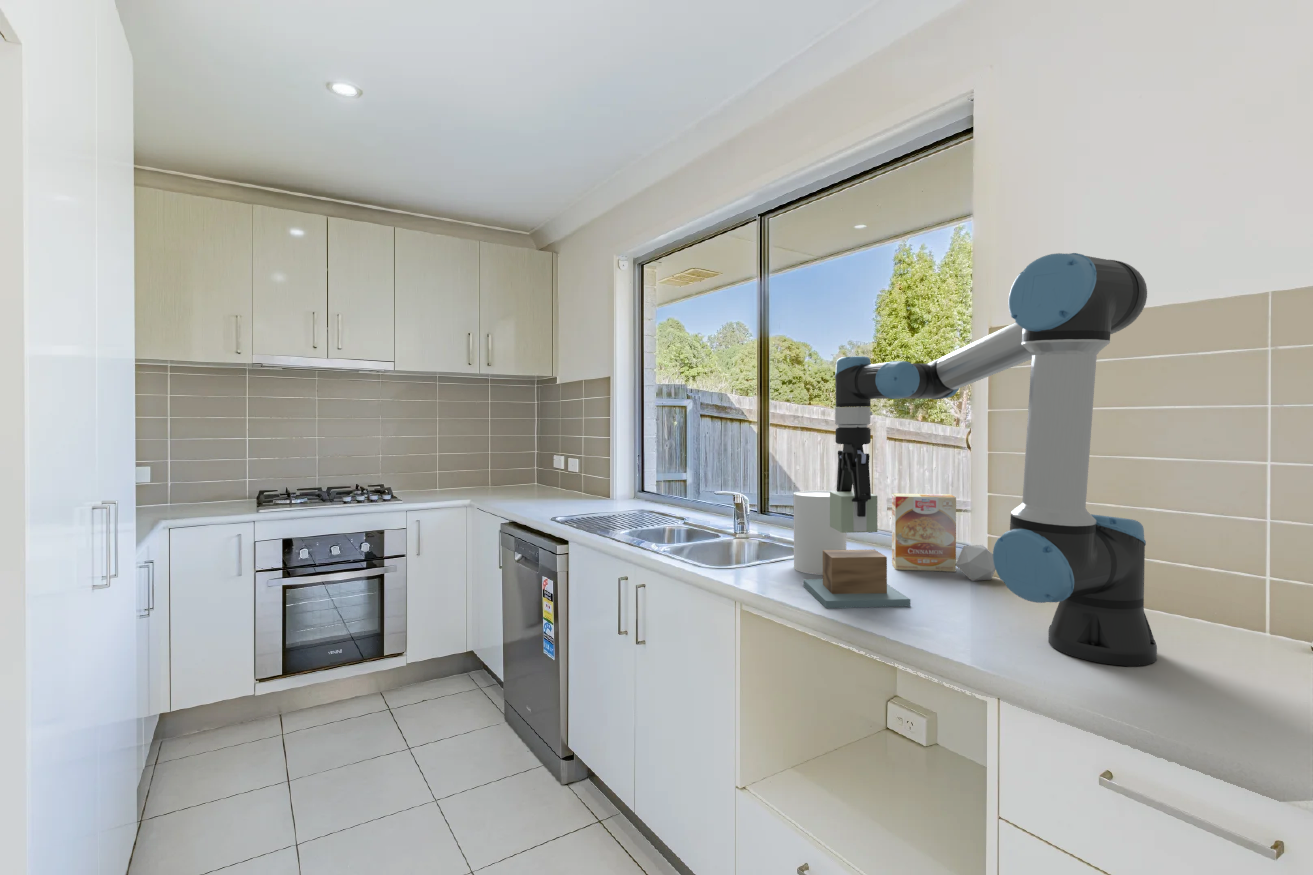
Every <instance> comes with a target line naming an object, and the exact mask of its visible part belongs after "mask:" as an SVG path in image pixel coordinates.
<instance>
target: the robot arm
mask: <svg viewBox="0 0 1313 875" xmlns="http://www.w3.org/2000/svg"><path fill="white" fill-rule="evenodd" d="M1007 299H1008V302H1007V303H1008V305H1007V306H1008V312H1009V315H1010V317H1011V318H1012V319H1013V320H1014V321H1015V322H1013V323H1011V324H1009V325H1007V326H1005V327H1003V328H1000V329H998V330H996V331H994V332H992V333H990V334H988V335H985V336H983V337H981V338H979V339H976V340H975V341H973V342H970V343H968V344H966V345H964V346H962V347H960V348H958V349H956V350H954V351H952V352H949V353H947V354H945V355H943V356H941V357H939V358H937V359H935V360H932V361H930V362H927V363H915V362H914V363H913V362H912V363H911V362H910V361H905V360H903V361H902V360H901V361H900V360H898V361H897V360H893V361H892V360H891V361H889V362H880V363H873V364H871V363H872V362H871V358H870V357H868V356H866V355H865V356H859V355H858V356H857V355H856V356H853V355H852V356H843V357H840V358H838V359H837V360H836V362H835V374H834V380H835V382H834V383H835V385H834V386H835V387H834V388H835V392H834V393H835V407H834V415H835V416H834V422H835V423H834V424H835V425H836V426H837V427H835V443H836V444H837V445H842V449H841V450H838V451H837V460H838V461H837V473H836V474H837V477H836V492H851V491H852V490H853V491H854V496H855V498H853V499H852V502H853V531H867V501H868V500H870V499H871V494H872V492H871V491H872V490H871V489H872V488H871V473H870V453H865V452H864V446H863V445H869V444H871V441H872V440H871V438H872V437H871V436H872V435H871V431H872V430H871V428H870V427H868V426H869V425H870V424H871V416H872V415H873V412H872V411H871V405H872V404H871V403H872V402H871V400H875V399H876V400H880V399H885V400H886V399H888V400H891V399H892V400H895V399H896V400H898V399H902V400H903V399H906V400H907V399H916V400H917V399H923V400H924V399H925V400H941V399H949V398H951V397H954V396H955V395H956V394H957V392H958V391H959V390H960V388H963V387H966V386H968V385H971V384H973V383H976V382H979V381H981V380H984V379H985V378H988V377H991V376H993V375H995V374H998V373H1001V372H1003V371H1005V370H1009V369H1011V368H1013V367H1017V366H1018V365H1021V364H1023V363H1025V362H1028V361H1030V360H1031V362H1030V363H1031V364H1030V376H1029V377H1030V378H1029V392H1028V393H1029V395H1028V407H1027V409H1028V410H1027V420H1026V421H1027V425H1026V426H1027V427H1026V440H1025V457H1024V469H1023V470H1024V472H1023V484H1022V485H1023V487H1022V501H1021V503H1020V504H1019V505H1018V506H1016V507H1015V508H1013V509H1012V510H1011V511H1010V522H1009V530H1006V531H1005V532H1004V533H1003V534H1002V535H1001V536H1000V537H999V538H997V539H996V541H995V543H994V546H993V549H992V554H993V562H994V566H995V569H996V570H995V572H996V574H997V575H998V577H999V579H1000V580H1001V581H1003V583H1004V584H1005V586H1006V588H1007V589H1008V590H1009V591H1010V592H1012V593H1013V594H1014V595H1016V596H1017V597H1019V598H1021V599H1023V600H1024V601H1029V602H1032V603H1038V604H1041V603H1042V604H1043V603H1044V604H1045V603H1058V606H1057V608H1056V610H1055V612H1054V615H1053V618H1052V621H1051V624H1050V625H1049V627H1048V636H1047V637H1048V644H1049V645H1050V646H1051V647H1052V648H1054V649H1056V650H1057V651H1058V652H1061V653H1062V654H1063V653H1064V654H1065V655H1069V656H1072V657H1074V658H1077V659H1081V660H1084V661H1085V660H1086V661H1090V662H1093V663H1100V664H1104V665H1113V666H1125V667H1126V666H1129V667H1137V666H1146V665H1152V664H1153V663H1155V662H1156V661H1157V660H1158V646H1157V642H1156V640H1155V639H1154V635H1153V632H1152V629H1151V626H1150V624H1149V621H1148V617H1147V614H1146V612H1145V606H1144V605H1145V602H1144V601H1145V560H1146V559H1145V552H1146V550H1145V549H1146V545H1147V543H1146V542H1147V541H1146V539H1145V529H1144V525H1143V524H1142V523H1141V522H1140V521H1139V520H1136V519H1131V518H1123V517H1118V516H1117V517H1116V516H1115V517H1114V516H1109V515H1100V514H1092V513H1089V511H1088V510H1087V506H1086V505H1087V494H1088V481H1089V480H1088V478H1089V467H1090V466H1089V462H1090V451H1091V450H1090V449H1091V438H1092V425H1093V424H1092V422H1093V409H1094V397H1095V396H1094V395H1095V383H1096V371H1097V370H1096V369H1097V355H1098V354H1099V353H1100V352H1101V351H1102V350H1103V349H1104V348H1105V347H1107V346H1108V345H1109V344H1110V343H1111V335H1113V334H1115V333H1117V332H1120V331H1122V330H1123V329H1126V328H1128V327H1129V326H1130V325H1131V324H1133V323H1134V322H1135V321H1136V320H1137V319H1138V317H1139V316H1140V315H1141V313H1142V312H1143V310H1144V309H1145V306H1146V305H1147V304H1146V303H1147V300H1148V288H1147V283H1146V280H1145V278H1144V277H1143V275H1142V274H1141V272H1140V271H1139V270H1138V269H1136V268H1135V267H1134V266H1132V265H1131V264H1129V263H1126V262H1123V261H1119V260H1115V259H1106V258H1105V259H1104V258H1101V257H1100V258H1099V257H1094V256H1088V255H1084V254H1081V253H1077V252H1073V253H1060V252H1058V253H1051V254H1047V255H1044V256H1041V257H1038V258H1036V259H1035V260H1033V261H1031V263H1029V264H1028V265H1027V266H1026V267H1025V268H1024V269H1023V270H1022V271H1021V272H1020V273H1019V274H1018V275H1017V276H1016V278H1015V280H1014V281H1013V283H1012V285H1011V288H1010V290H1009V294H1008V298H1007Z"/></svg>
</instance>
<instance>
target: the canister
mask: <svg viewBox="0 0 1313 875" xmlns="http://www.w3.org/2000/svg"><path fill="white" fill-rule="evenodd" d="M830 492H836V491H834V490H802V491H794V492H793V569H794V570H796V571H797V572H800V573H803V574H804V573H805V574H810V575H822V576H823V550H847V533H841V532H839V531H837V530H836V529H834V528H832V527H830Z"/></svg>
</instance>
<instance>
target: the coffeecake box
mask: <svg viewBox="0 0 1313 875" xmlns="http://www.w3.org/2000/svg"><path fill="white" fill-rule="evenodd" d="M891 510H892V511H891V564H892V566H893V568H894V570H896V571H897V570H898V571H899V570H900V571H922V572H923V571H927V572H948V573H949V572H951V573H956V572H957V571H956V569H957V566H956V563H957V496H955V495H953V494H951V493H902V492H900V493H894V492H893V493H891Z"/></svg>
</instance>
